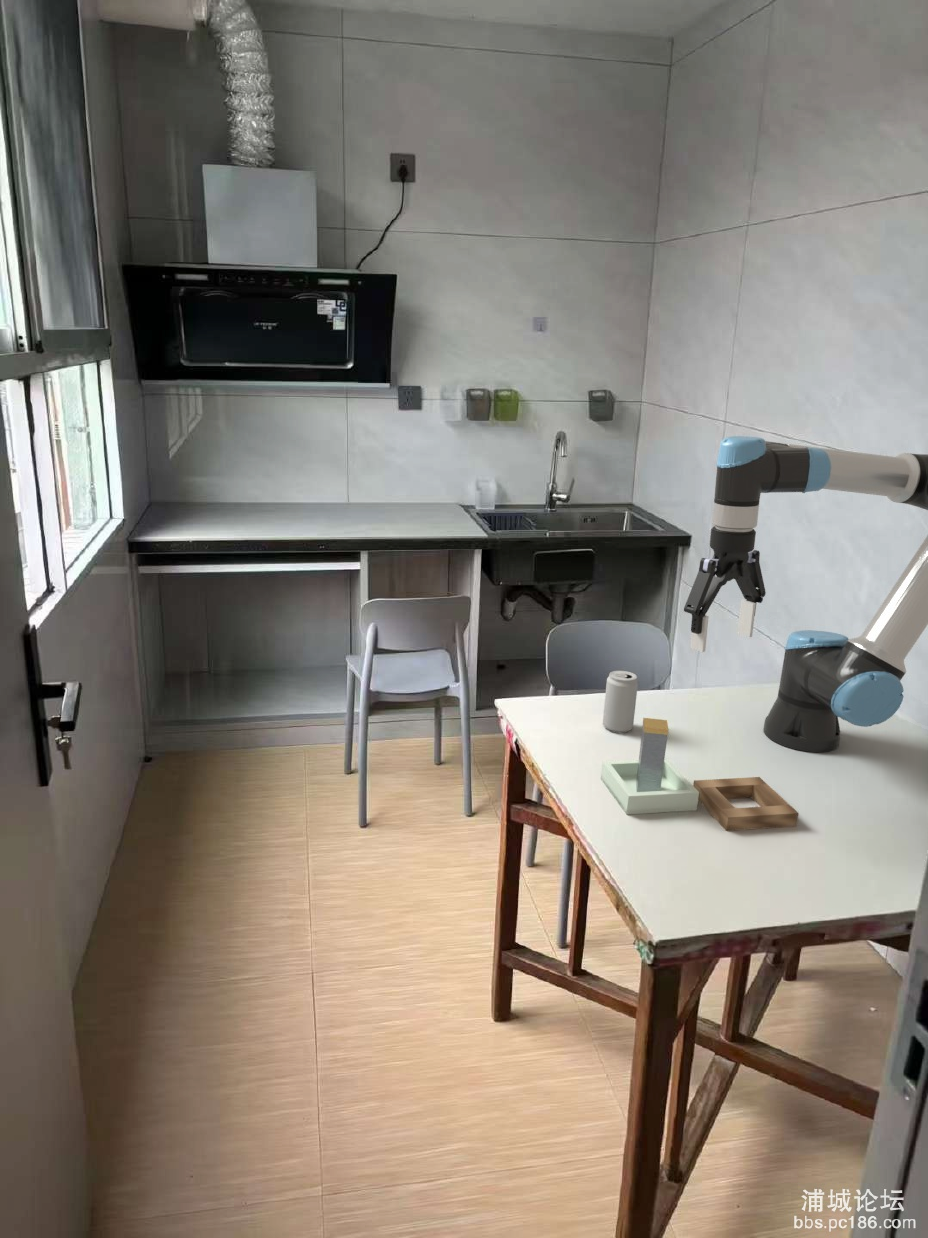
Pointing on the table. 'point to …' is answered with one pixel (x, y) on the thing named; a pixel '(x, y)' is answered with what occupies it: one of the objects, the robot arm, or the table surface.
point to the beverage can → (620, 701)
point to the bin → (669, 798)
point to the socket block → (732, 818)
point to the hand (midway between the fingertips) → (721, 642)
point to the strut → (651, 755)
